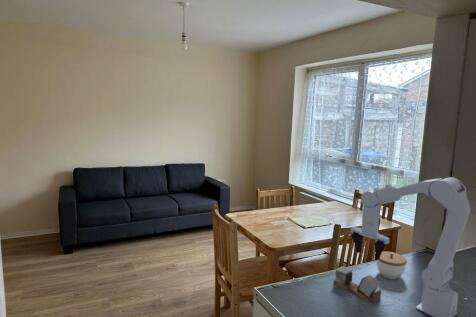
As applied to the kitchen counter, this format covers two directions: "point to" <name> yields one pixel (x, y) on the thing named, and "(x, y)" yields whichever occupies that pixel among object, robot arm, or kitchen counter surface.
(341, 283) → the rail
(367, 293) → the block
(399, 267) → the lidded jar
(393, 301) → the kitchen counter surface
